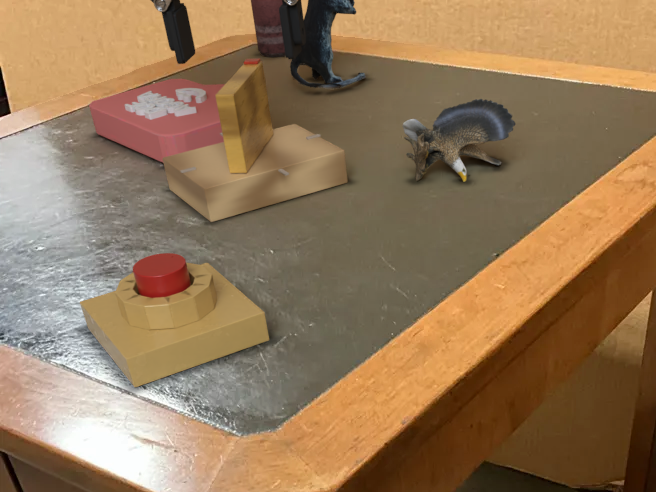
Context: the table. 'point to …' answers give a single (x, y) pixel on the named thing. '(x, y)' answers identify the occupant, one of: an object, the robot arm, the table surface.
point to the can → (268, 27)
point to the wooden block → (245, 115)
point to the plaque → (161, 117)
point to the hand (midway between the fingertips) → (240, 57)
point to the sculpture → (321, 43)
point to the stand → (256, 173)
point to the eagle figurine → (458, 135)
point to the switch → (174, 325)
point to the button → (161, 275)
